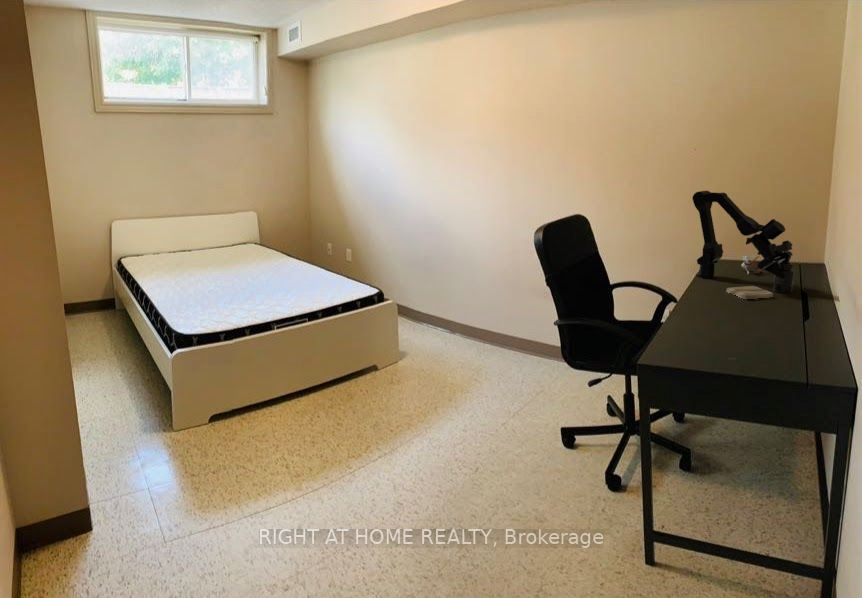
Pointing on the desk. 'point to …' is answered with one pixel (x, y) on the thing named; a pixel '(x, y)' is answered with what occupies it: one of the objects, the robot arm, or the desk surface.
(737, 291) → the base slab
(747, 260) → the toy character
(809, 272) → the desk surface
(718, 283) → the desk surface
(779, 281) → the supplement bottle
